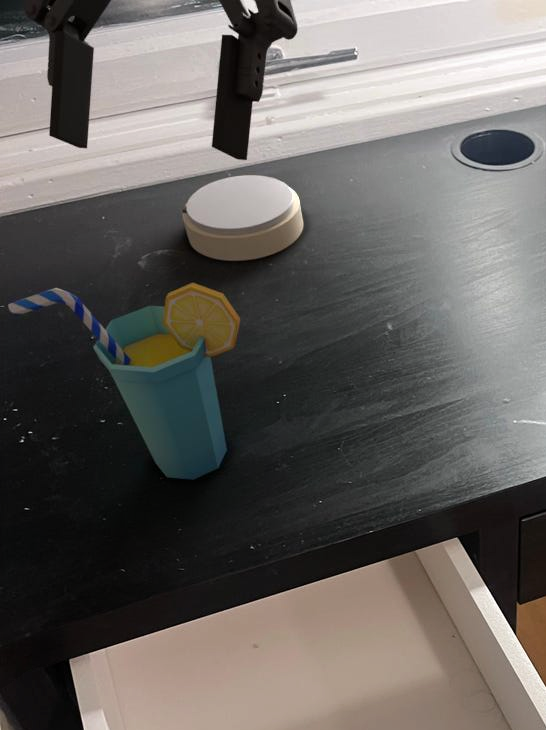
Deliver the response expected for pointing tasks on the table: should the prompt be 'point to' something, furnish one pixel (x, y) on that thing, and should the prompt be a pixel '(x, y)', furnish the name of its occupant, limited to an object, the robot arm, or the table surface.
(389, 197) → the table surface
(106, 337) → the cup
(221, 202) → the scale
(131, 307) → the table surface
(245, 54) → the robot arm
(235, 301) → the table surface
